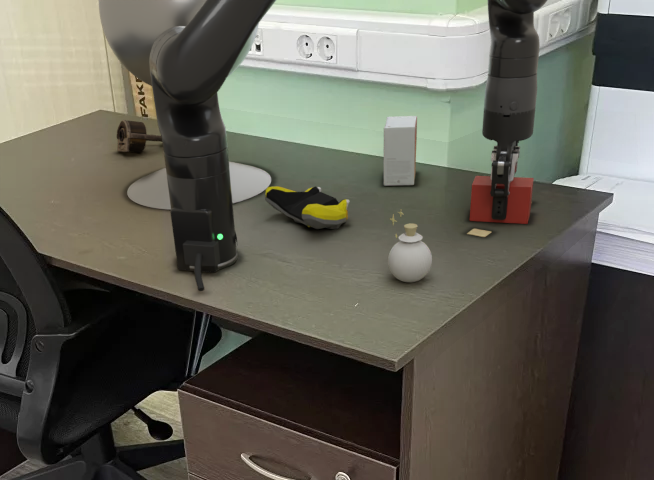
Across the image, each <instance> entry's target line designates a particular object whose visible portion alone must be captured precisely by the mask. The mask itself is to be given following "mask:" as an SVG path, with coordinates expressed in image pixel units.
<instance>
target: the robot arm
mask: <svg viewBox="0 0 654 480" xmlns="http://www.w3.org/2000/svg"><path fill="white" fill-rule="evenodd" d="M276 2H277V0H206V2H205V3H204V4H203V5H202V7H201V8H200V9H199V11H198V12H197V13H196V15H195V16H194V17H193V19H192V20H191V21H190V22H189V23H188V25H187V26H176V27H172V28H169V29H167V30H166V31H164V32H163V33H162V34H160V35H159V37H158V38H157V39H156V40H155V42H154V44H153V46H152V49H151V53H150V75H151V82H152V86H151V88H152V95H153V102H154V108H155V115H156V123H157V127H158V130H159V135H160V136H161V138H162V142H161V143H162V150H163V155H164V165H165V167H166V174H167V182H168V189H169V197H170V205H171V210H170V211H169V212H170V220H171V227H172V235H173V245H174V250H175V251H174V252H175V260H176V266H177V270H178V271H188V272H194V279H195V283H196V287H197V291H198V292H203V291H205V285H204V281H203V277H202V273H213V274H214V273H216V272H217V271H220V270H221V269H225V268H227V267H230V266H232V265H233V264H234V263H236V262H237V260H238V258H239V252H238V250H237V249H238V248H237V246H238V235H237V233H236V227H235V215H234V203H232V192H231V181H230V169H229V161H230V158H229V157H230V156H229V147H228V136H227V130H226V126H225V122H224V120H223V116H222V113H221V109H220V104H219V103H220V102H219V95H218V94H219V93H218V92H220V90H221V88H222V86H224V83H225V82H226V80H227V78H228V77H229V76H230V75H229V73H230V71H231V69H232V67H233V66H234V64H235V62H236V60H237V58H238V57H239V55H240V53H241V51H242V49H243V48H244V46H245V44H246V42H247V41H248V39H249V37H250V36H251V34H252V32H253V31H254V29H255V28H256V26H257V25H258V23H259V24H260V23H261V21H262V20H263V18H264V17H265V16H266V15H267V13H268V12H269V11H270V10H271V8H272V6H273V5H274V4H275V3H276ZM547 2H548V0H487V16H488V28H489V29H488V30H489V36H490V45H489V51H488V68H487V69H488V70H487V78H486V84H485V88H484V101H483V115H482V128H481V134H482V136H483V138H485V139H487V140H489V141H494V142H496V143H497V144H496V145H493V150H491V156H490V161H491V171H490V176H491V180H492V183H491V191H490V194H491V197H493V204H492V219H494V220H505V218H506V214H507V203H508V196H509V195H510V192H509V188H510V183H511V182H512V181H513V180H514V177H515V175H516V173H517V170H518V162H519V158H520V153H521V146H519V143H520V142H522V141H525V140H528V139H530V138H531V137H532V136H533V134H534V129H535V128H534V127H535V117H536V109H537V98H538V96H537V95H538V68H539V57H540V47H541V46H540V43H541V41H540V36H539V34H538V32H537V30H536V28H535V23H534V20H535V18H534V17H535V13H536V12H538V11H539V10H540V9H542V7H544V5H546V3H547ZM258 26H259V25H258ZM228 75H229V76H228ZM227 76H228V77H227ZM497 184H504V185H505V188H504V189H496V188H497Z"/></svg>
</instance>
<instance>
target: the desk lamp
mask: <svg viewBox="0 0 654 480" xmlns="http://www.w3.org/2000/svg"><path fill="white" fill-rule="evenodd" d="M205 2H206V0H98V12H99V13H98V15H99V20H100V24H101V28H102V31H103V35H104V37H105V39H106V41H107V43H108V45H109V48H110V49H111V51H112V53H113V54H114V55H115V58H116V59H117V60H118V61H119V63H120V64H121V65H123V67H124V68H125V69H126V70H127V71H128V72H129V73H130V74H132V75H133V76H134V77H135V78H136V79H138V80H139V81H141V82H143V83H145V84H146V85H148V86H151V87H152V82H151V75H150V53H151V49H152V46H153V44H154V42H155V40H156V39H157V38H158V37H159V35H160V34H162V33H163V32H164V31H166V30H167V29H169V28H172V27H176V26H187V25H188V23H189V22H190V21H191V20H192V19H193V17H194V16H195V15H196V13H197V12H198V11H199V9H200V8H201V7H202V5H203V4H204V3H205ZM259 25H260V22H259V23H258V25H257V26H256V28H255V29H254V31H253V32H252V34H251V36H250V37H249V39H248V41H247V42H246V44H245V46H244V48H243V49H242V51H241V53H240V55H239V57H238V58H237V60H236V62H235V64H234V66H233V67H232V69H231V71H230V73H229V75H228V76H227V78H229V76H231V75H232V74H233V73H234V72H235V71H236V70H237V69H238V68H239V67H240V66H241V64H242V63H243V62H244V61H245V59H246V58H247V56H248V54H249V53H250V51H251V49H252V47H253V45H254V42H255V39H256V36H257V34H258V30H259ZM229 169H230V181H231V192H232V203H233V204H235V203H240V202H242V201H243V202H244V201H246V200H248V199H251V198H253V197H256V196H258V195H260V194H261V193H263V192H264V191H266V189H267V188H268V187H270V185H271V183H272V177H271V175H270V173H268V172H267V171H265V170H264V169H261V168H259V167H256V166H253V165H249V164H245V163H244V164H243V163H240V162H236V161H235V162H234V161H230V160H229ZM126 194H127V196H128V198H129V199H130V200H131V201H133V202H134V203H136V204H138V205H141V206H144V207H148V208H151V209H160V210H170V211H171V205H170V197H169V189H168V182H167V174H166V166H164V167H163V168H161V169H159V170H156V171H153V172H151V173H149V174H147V175H145V176H142V177H140V178H138V179H137V180H135V181H134V182H133V183H131V184H130V185H129V187H128V188H127V192H126Z"/></svg>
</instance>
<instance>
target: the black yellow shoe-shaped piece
mask: <svg viewBox="0 0 654 480" xmlns="http://www.w3.org/2000/svg"><path fill="white" fill-rule="evenodd" d="M264 193H265V194H264V201H265V202H266V203H268V204H269V205H270V206H271V207H272V208H273V209H275V210H276V211H278V212H280V213H282V214H284V215H285V216H287V217H289V218H290V219H293V221H294V223H298V224H303V225H305V226H307V227H308V228H313V229H316V230H319V229H324V228H326V229H329V230H333V229H334V230H335V229H338V228H340V227H341V225H342V224H344V223H346V222H347V220H348V219H349V212H348V207H349V204H350V199H346V198H343V199H341V200H340V201H339V200H337V198H336V197H334V196H332V195H329V194H327V193H325V192H322V187H320V186H312V187H309V188H307V189H306V190H305V191H295V190H293V189H289V188H286V187H282V186H279V185H278V186H277V185H275V186H268V187H267V188H266V189H265V192H264Z"/></svg>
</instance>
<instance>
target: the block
mask: <svg viewBox="0 0 654 480" xmlns="http://www.w3.org/2000/svg"><path fill="white" fill-rule="evenodd" d="M534 179H535V178H534V177H523V176H521V177H519V176H517V177H516V176H514V180H513V181H512V182H511V183H510V188H509V192H510V195H509V196H508V203H507V214H506V218H505V220H494V219H492V204H493V197H491V194H490V191H491V183H492V180H491V175H475V177H474V179H473V182H472V184H471V190H470V193H471V194H470V208H469V221H470V222H484V223H500V224H501V223H502V224H519V225H528V224H529V220H530V216H531V209H532V203H531V202H532V200H533V198H532V197H533V189H534V181H535V180H534ZM504 188H505V185H504V184H497V188H496V189H504Z"/></svg>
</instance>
